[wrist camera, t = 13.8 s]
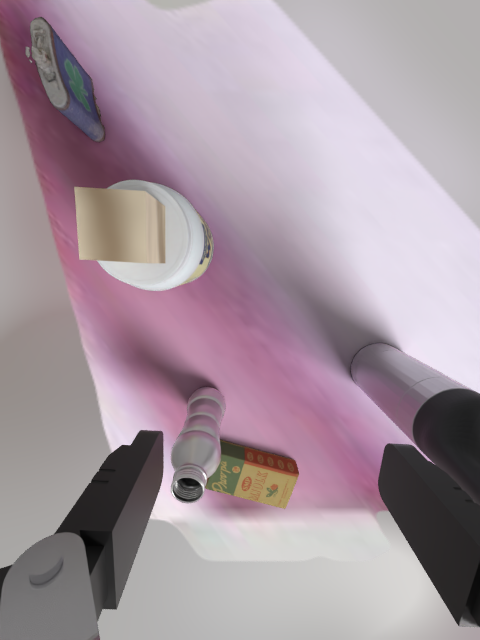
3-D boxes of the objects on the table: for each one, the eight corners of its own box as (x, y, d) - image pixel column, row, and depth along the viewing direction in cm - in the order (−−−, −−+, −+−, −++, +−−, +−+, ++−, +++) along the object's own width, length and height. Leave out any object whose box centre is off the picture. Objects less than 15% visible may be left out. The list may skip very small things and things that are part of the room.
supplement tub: (226, 266, 43) (218, 267, 27) (161, 295, 44) (114, 313, 28) (194, 193, 41) (164, 145, 24) (126, 225, 42) (53, 201, 25)
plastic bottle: (192, 379, 48) (159, 460, 28) (229, 385, 48) (221, 469, 28) (188, 411, 49) (153, 509, 29) (223, 416, 49) (212, 517, 30)
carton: (282, 491, 53) (285, 511, 49) (206, 472, 52) (203, 490, 48) (295, 458, 51) (300, 475, 47) (217, 437, 50) (215, 453, 46)
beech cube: (165, 206, 26) (145, 191, 20) (165, 263, 27) (146, 263, 21) (109, 202, 26) (74, 186, 20) (111, 260, 27) (79, 259, 21)
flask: (108, 141, 39) (59, 96, 29) (89, 145, 40) (34, 101, 29) (90, 70, 38) (32, -5, 27) (71, 74, 38) (5, 1, 27)
